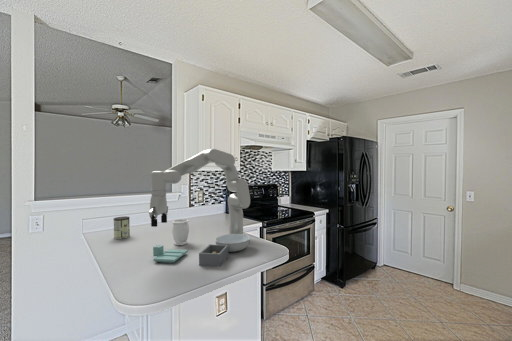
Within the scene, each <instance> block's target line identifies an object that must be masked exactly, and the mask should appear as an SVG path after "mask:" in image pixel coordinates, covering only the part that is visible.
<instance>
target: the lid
mask: <svg viewBox="0 0 512 341" xmlns="http://www.w3.org/2000/svg"><path fill="white" fill-rule="evenodd" d="M188 251H189V250H188V249H177V248H175V249H172V248H169V249H167V250H165V251H164V245H161V244H155V245H154V246H153V248H152V252H153V253H152V254H153V256H152V257H154V258H153V261H155V262H156V261H157V262H158V263H166V262H169V263H173V264H174V263H175V262H177V260H179V259H180V258H181V257H182V256H184V255H186V254H187V253H188ZM169 263H168V264H169Z"/></svg>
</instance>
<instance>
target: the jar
mask: <svg viewBox="0 0 512 341" xmlns="http://www.w3.org/2000/svg"><path fill="white" fill-rule="evenodd" d="M189 222H190V221H189V219H175V220H172V221H171V223H172V229H171V233H172V238H173V241H174V243H173V245H175V246H183V245H187V244H188V239H189V232H190V226H189Z"/></svg>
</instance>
